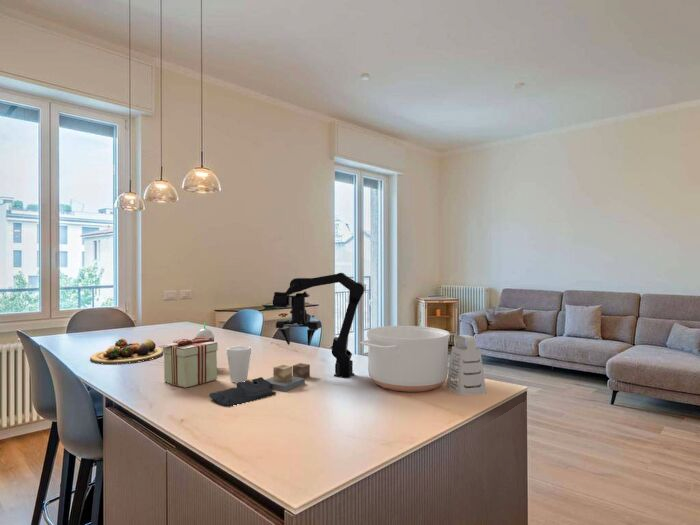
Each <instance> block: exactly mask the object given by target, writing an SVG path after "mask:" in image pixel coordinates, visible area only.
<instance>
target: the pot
mask: <svg viewBox="0 0 700 525" xmlns="http://www.w3.org/2000/svg"><path fill="white" fill-rule="evenodd" d="M450 336H451V333H450V332H449V331H448V330H445V329H443V328H438V327H431V326H420V325H385V326H376V327H373V328H369V329H368V330H367V331H366V337H367V339H366V340H360V342H359V344H360V345H363V346H367V348H368V350H367V352H368V355H367V358H368V360H367V361H368V362H367V366H368V367H367V372H368V376H369V377H370V379H371V381H372V382H374V384H376V385H377V386H379V387H381V388H384V389H386V390H387V389H388V390H391V391H397V392H405V393H406V392H407V393H414V392H415V393H418V392H419V393H420V392H426V391H431V390H434V389H437V388H439V387H441V386H442V385H443V384H444V383H445V382H446V381H447V378H448V371H449V362H448V361H449V351H448V350H449V349H448V348H449V344H448V343H449V339H450Z"/></svg>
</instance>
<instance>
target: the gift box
mask: <svg viewBox="0 0 700 525" xmlns="http://www.w3.org/2000/svg"><path fill="white" fill-rule="evenodd" d="M210 341H211V340H210V339H208V338H207V337H206V336H198V337H196V338H195V337H194V338H193V339H188V338H180V339H175V340H173V341H172V343H168V344H163V345H159V346H158V348H160V349H162V351H163V362H164V364H163V365H164V370H163V372H164V376H163V377H164V379H163V380H164V383H165V382H167V383H166V384H169V383H170V384H169V385H173V386H177V387H181V388H184V389H186V388H191V387H195V386H198V385H202V384H206V383H209V382H213V381H216V380H217V379H218V367H217V366H218V365H217V364H218V361H217V360H218V359H217V351H218V350H219V349H218V348H219V347H218V342H215V341H214V342H210Z"/></svg>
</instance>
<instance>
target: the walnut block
mask: <svg viewBox="0 0 700 525" xmlns="http://www.w3.org/2000/svg"><path fill="white" fill-rule="evenodd" d="M310 367H311V364H309V363H308V364H307V363H302V362H301V363H297V364H294V365H292V376H293V377H299V378H305V379H306V378H307V379H308V378H309V377H311V376H310V375H311V368H310Z"/></svg>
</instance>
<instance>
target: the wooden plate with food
mask: <svg viewBox="0 0 700 525" xmlns="http://www.w3.org/2000/svg"><path fill="white" fill-rule="evenodd" d="M162 355H164V353H163V349H162V348H161V347H157V345H156V343H155V341H153V340H151V339H146V340H145V341H144V343H141V344H139V343H138V342H131V343H128V341H127V340H126V339H125V338H119V339H118V341H115V343H114V345H110V346H109V347H107V349H105V350H102V351H101V350H100V351H98V352H96V353H93V354H92V355H91V356H90V357H89V359H90V362H91V361H92V363H93V362H95V363H94V364H97V363H103V364H102V365H118V364H117V363H128V364H130V363H129V362H137V363H139V362H138V361H143V360H148V359H152V358H155V359H157V358H156V357H158V358H160V357H161V356H162ZM159 356H160V357H159ZM152 360H153V359H152ZM148 361H149V360H148ZM143 362H144V361H143Z"/></svg>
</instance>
